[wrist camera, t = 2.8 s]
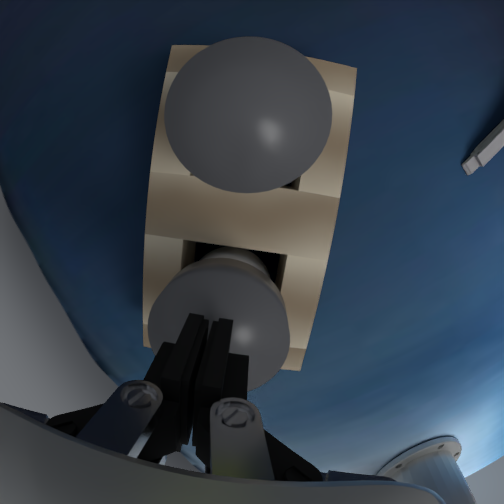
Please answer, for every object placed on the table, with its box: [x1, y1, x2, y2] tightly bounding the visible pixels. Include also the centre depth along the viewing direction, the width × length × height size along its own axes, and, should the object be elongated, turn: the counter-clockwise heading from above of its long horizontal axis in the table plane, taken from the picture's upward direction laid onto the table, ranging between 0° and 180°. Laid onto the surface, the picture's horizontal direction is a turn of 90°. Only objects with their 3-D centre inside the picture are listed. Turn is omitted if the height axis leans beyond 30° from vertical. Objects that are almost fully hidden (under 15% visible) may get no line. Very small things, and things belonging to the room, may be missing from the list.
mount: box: [143, 45, 357, 371], centre depth 18 cm, size 18×10×4 cm, turn 172°
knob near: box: [164, 37, 332, 193], centre depth 13 cm, size 6×6×6 cm
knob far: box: [147, 247, 290, 391], centre depth 15 cm, size 6×6×6 cm
